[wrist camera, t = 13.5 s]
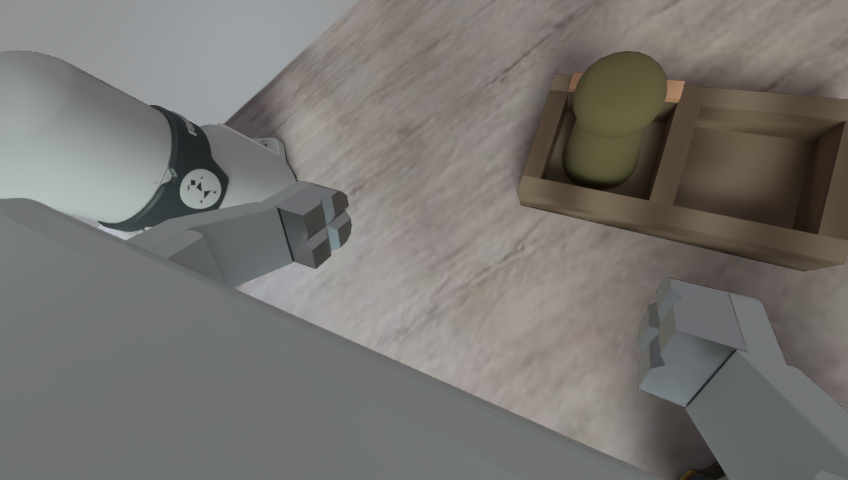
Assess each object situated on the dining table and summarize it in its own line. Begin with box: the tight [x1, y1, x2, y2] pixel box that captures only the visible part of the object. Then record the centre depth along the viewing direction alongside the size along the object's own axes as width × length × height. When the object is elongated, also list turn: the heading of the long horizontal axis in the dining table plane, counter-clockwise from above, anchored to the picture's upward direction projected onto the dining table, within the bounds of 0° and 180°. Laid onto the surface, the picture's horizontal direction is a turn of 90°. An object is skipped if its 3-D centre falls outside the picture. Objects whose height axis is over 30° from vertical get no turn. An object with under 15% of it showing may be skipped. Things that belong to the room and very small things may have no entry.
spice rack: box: [517, 72, 848, 271], centre depth 27 cm, size 20×11×4 cm, turn 71°
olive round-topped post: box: [562, 51, 667, 190], centre depth 26 cm, size 6×6×11 cm
